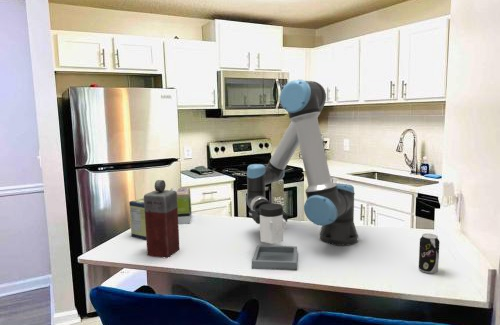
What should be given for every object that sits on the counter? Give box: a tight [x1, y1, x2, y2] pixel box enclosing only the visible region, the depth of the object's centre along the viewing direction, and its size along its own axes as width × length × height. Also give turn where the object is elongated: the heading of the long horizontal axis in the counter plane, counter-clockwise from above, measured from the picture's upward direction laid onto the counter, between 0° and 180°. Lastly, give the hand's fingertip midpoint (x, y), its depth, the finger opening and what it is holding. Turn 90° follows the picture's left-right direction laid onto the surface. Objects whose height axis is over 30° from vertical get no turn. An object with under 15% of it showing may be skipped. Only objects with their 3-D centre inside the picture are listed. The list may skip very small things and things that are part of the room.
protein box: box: [129, 197, 146, 241], centre depth 164 cm, size 10×16×16 cm
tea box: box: [170, 187, 193, 225], centre depth 184 cm, size 15×10×15 cm
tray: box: [251, 244, 298, 271], centre depth 133 cm, size 15×15×3 cm
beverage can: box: [418, 232, 441, 275], centre depth 121 cm, size 6×6×12 cm
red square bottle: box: [143, 179, 180, 259], centre depth 141 cm, size 9×11×28 cm
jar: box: [259, 202, 284, 245], centre depth 131 cm, size 9×8×12 cm
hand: (278, 225), depth 126 cm, fingers closed on jar, 4 cm apart
